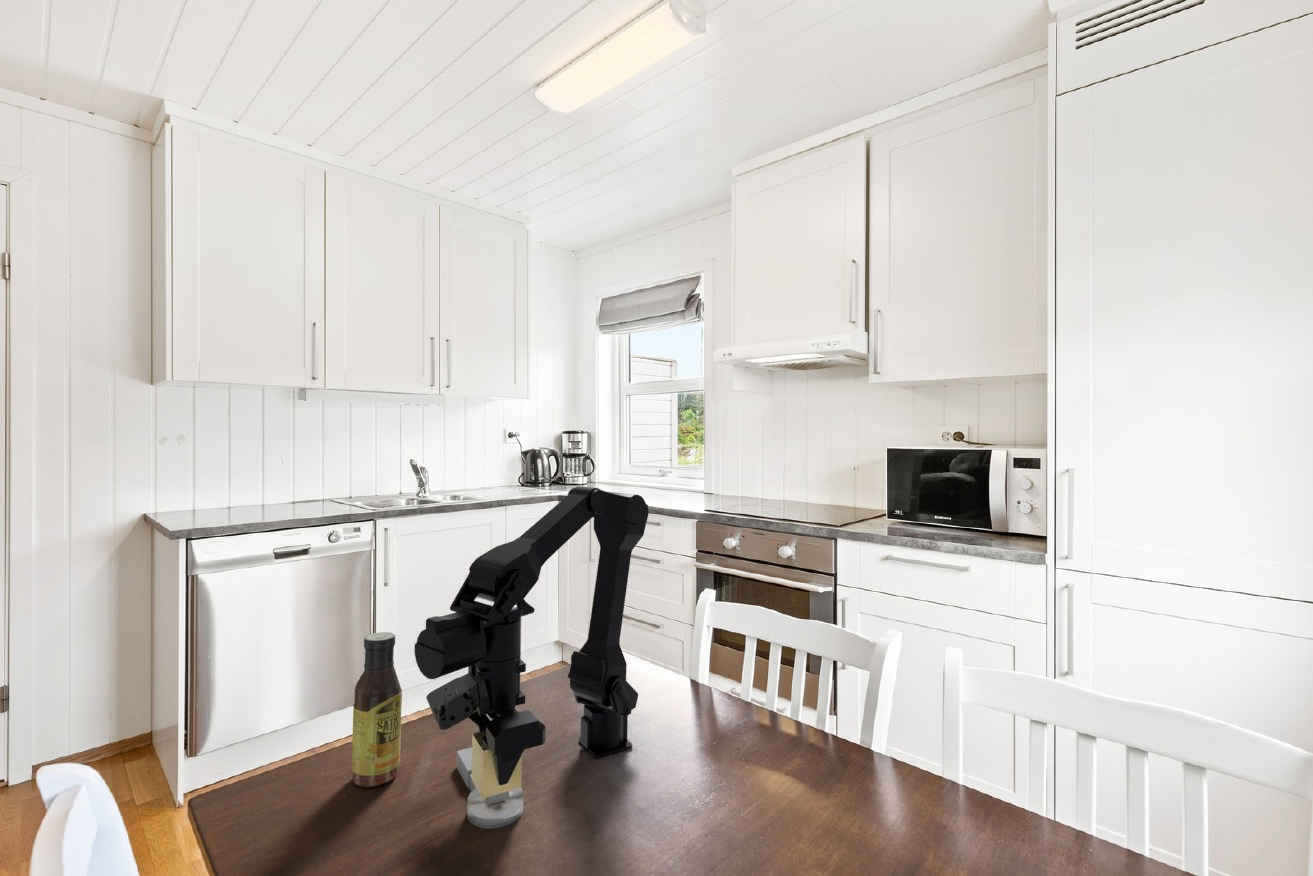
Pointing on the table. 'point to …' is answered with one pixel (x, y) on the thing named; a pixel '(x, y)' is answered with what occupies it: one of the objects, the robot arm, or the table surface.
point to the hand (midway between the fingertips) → (496, 773)
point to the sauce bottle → (377, 715)
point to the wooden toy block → (490, 769)
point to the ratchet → (488, 799)
